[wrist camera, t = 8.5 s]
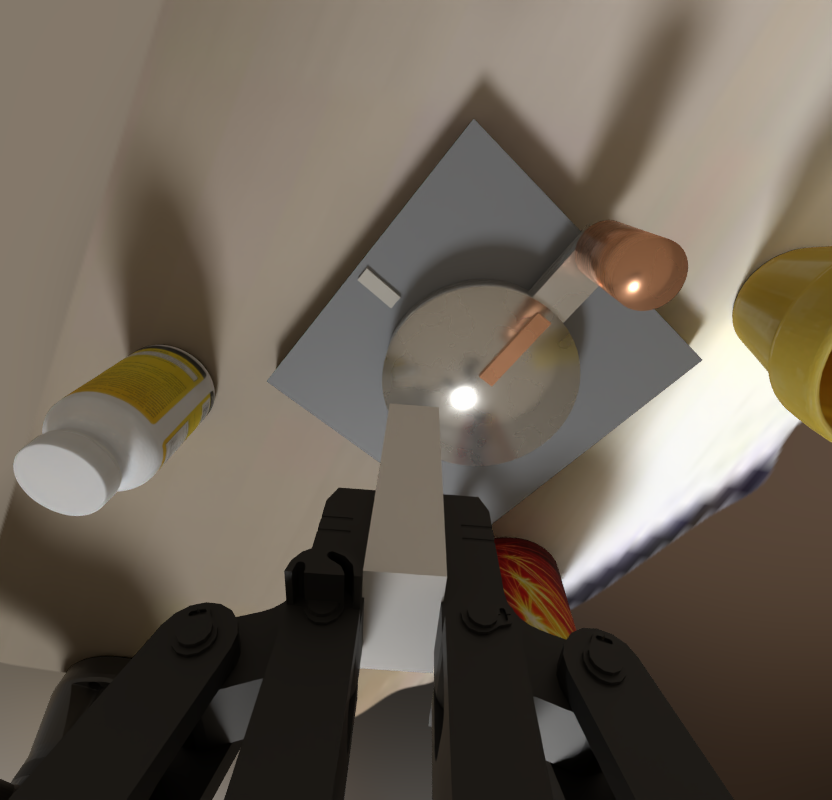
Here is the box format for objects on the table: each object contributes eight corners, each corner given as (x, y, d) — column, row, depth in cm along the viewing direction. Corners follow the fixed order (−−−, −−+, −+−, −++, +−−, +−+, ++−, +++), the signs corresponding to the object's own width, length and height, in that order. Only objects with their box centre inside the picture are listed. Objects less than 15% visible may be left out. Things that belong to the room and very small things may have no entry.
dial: (486, 477, 34) (498, 559, 27) (349, 385, 31) (324, 451, 24) (684, 289, 27) (770, 333, 20) (534, 147, 24) (573, 142, 17)
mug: (446, 499, 38) (450, 632, 27) (581, 565, 40) (632, 709, 30) (391, 571, 42) (375, 711, 31) (516, 625, 44) (541, 772, 34)
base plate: (477, 516, 38) (479, 535, 36) (275, 369, 33) (265, 382, 31) (687, 348, 31) (704, 361, 29) (471, 121, 25) (474, 118, 23)
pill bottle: (126, 332, 32) (-22, 414, 22) (219, 351, 32) (116, 440, 22) (133, 412, 35) (7, 517, 25) (218, 428, 35) (128, 538, 25)
